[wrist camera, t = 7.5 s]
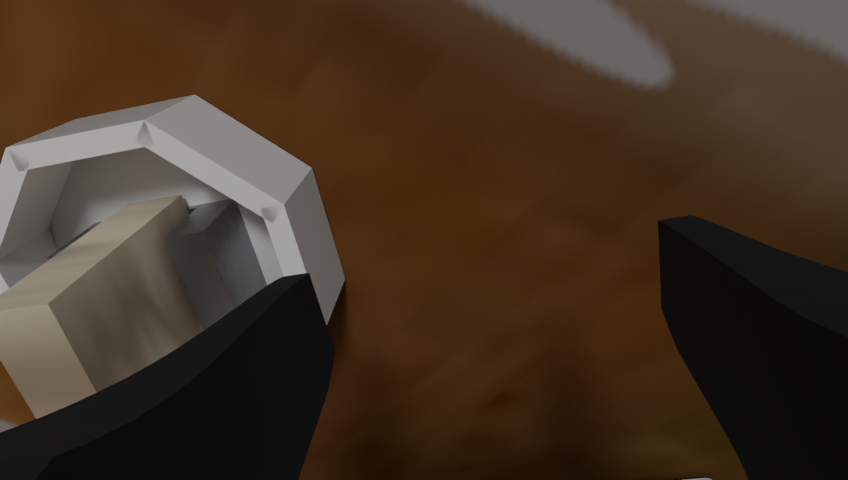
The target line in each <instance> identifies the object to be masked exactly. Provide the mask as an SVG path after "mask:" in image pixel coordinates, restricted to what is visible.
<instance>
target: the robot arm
mask: <svg viewBox="0 0 848 480" xmlns="http://www.w3.org/2000/svg"><path fill="white" fill-rule="evenodd" d="M658 232H659V257H660V281H661V305H662V311H663V314H664V316H665V319H666V322H667V324H668V327H669V330H670V332H671V335H672V337H673V340H674V342H675V344H676V347H677V349H678V351H679V353H680V355H681V357H682V358H683V360H684V362H685V364H686V365H687V367H688V369H689V371H690V372H691V374H692V376H693V378H694V379H695V381H696V383H697V385H698V386H699V388H700V390H701V392H702V393H703V395H704V397H705V398H706V400H707V402H708V404H709V405H710V407H711V409H712V410H713V412H714V414H715V416H716V417H717V419H718V421H719V423H720V424H721V426H722V428H723V429H724V431H725V433H726V435H727V436H728V438H729V440H730V442H731V444H732V446H733V448H734V449H735V451H736V453H737V455H738V457H739V459H740V461H741V463H742V466H743V468H744V470H745V472H746V475H747V477H748V479H749V480H848V272H846V271H842V270H839V269H836V268H832V267H829V266H826V265H822V264H819V263H816V262H813V261H811V260H808V259H805V258H802V257H799V256H796V255H793V254H790V253H787V252H785V251H782V250H779V249H776V248H774V247H771V246H769V245H766V244H763V243H761V242H758V241H756V240H753V239H751V238H749V237H746V236H744V235H741V234H739V233H736V232H734V231H732V230H729V229H727V228H724V227H722V226H719V225H717V224H714V223H712V222H709V221H707V220H704V219H701V218H698V217H695V216H684V217H677V218H671V219H664V220H658ZM334 351H335V350H334V347H333V344H332V341H331V338H330V335H329V332H328V329H327V326H326V323H325V320H324V317H323V313H322V310H321V307H320V304H319V301H318V298H317V295H316V292H315V289H314V286H313V283H312V280H311V277H310V274H309V273H304V274H298V275H291V276H284V277H281V278H279V279H277V280H275V281H274V282H272V283H270V284H269V285H267V286H266V287H264V288H263V289H261V290H260V291H258V292H257V293H256V294H254V295H253V296H251V297H250V298H249V299H247V300H246V301H244V302H243V303H242V304H240V305H239V306H238V307H236V308H235V309H233V310H232V311H231V312H229V313H228V314H227V315H225V316H224V317H222V318H221V319H220V320H218V321H217V322H215V323H214V324H213V325H211V326H210V327H208V328H207V329H205V330H204V331H202V332H201V333H199V334H198V335H196V336H195V337H193V338H192V339H190V340H189V341H187V342H186V343H184V344H183V345H181V346H180V347H179V348H177V349H175V350H174V351H172V352H171V353H169V354H167V355H166V356H164V357H162V358H161V359H159V360H157V361H156V362H154V363H152V364H150V365H149V366H147V367H145V368H143V369H142V370H140V371H138V372H136V373H134V374H133V375H131V376H129V377H127V378H125V379H123V380H121V381H119V382H117V383H115V384H113V385H111V386H109V387H107V388H105V389H103V390H101V391H99V392H96V393H94V394H92V395H90V396H88V397H86V398H84V399H82V400H80V401H78V402H76V403H73V404H71V405H69V406H67V407H64V408H62V409H60V410H57V411H55V412H52V413H50V414H48V415H45V416H43V417H40V418H38V419H35V420H33V421H30V422H27V423H25V424H22V425H20V426H17V427H15V428H12V429H9V430H6V431H4V432H1V433H0V480H298V478H299V475H300V472H301V469H302V467H303V464H304V461H305V458H306V455H307V452H308V449H309V446H310V443H311V440H312V437H313V434H314V431H315V428H316V425H317V422H318V419H319V416H320V413H321V410H322V407H323V404H324V401H325V398H326V395H327V391H328V387H329V382H330V377H331V371H332V365H333V358H334ZM683 480H712V479H709V478H695V479H683Z"/></svg>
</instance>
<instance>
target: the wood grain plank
mask: <svg viewBox="0 0 848 480" xmlns="http://www.w3.org/2000/svg"><path fill="white" fill-rule="evenodd" d="M188 215H189V213H188V210H187V208H186V205H185V203H184V200H183V198H182V195H177V196H171V197H165V198H159V199H154V200H148V201H142V202H136V203H131V204H127V205H125V206H124V207H122V208H121V209H120V210H118V211H117V212H115V213H114V214H113V215H111V216H110V217H108V218H107V219H106V220H104V221H103V222H101V223H100V224H99V225H97V226H96V227H94V228H93V229H92V230H90V231H89V232H87V233H86V234H85V235H83V236H82V237H80V238H79V239H78V240H76V241H75V242H73V243H72V244H71V245H69V246H68V247H66V248H65V249H64V250H62V251H61V252H59V253H58V254H57V255H55V256H54V257H52V258H51V259H50V260H48V261H47V262H45V263H44V264H43V265H41V266H40V267H38V268H37V269H36V270H34V271H33V272H31V273H30V274H29V275H27V276H26V277H24V278H23V279H22V280H20V281H19V282H17V283H16V284H15V285H13V286H12V287H10V288H9V289H8V290H6V291H5V292H3V293H2V294H1V295H0V360H1V362H2V364H3V365H4V367H5V368H6V370H7V372H8V373H9V375H10V377H11V378H12V380H13V381H14V383H15V385H16V386H17V388H18V389H19V391H20V393H21V394H22V396H23V398H24V399H25V401H26V402H27V404H28V406H29V407H30V409H31V410H32V412H33V414H34V415H35V417H36V419H38V418H40V417H43V416H45V415H48V414H50V413H52V412H55V411H57V410H60V409H62V408H64V407H67V406H69V405H71V404H73V403H76V402H78V401H80V400H82V399H84V398H86V397H88V396H90V395H92V394H94V393H96V392H99V391H101V390H103V389H105V388H107V387H109V386H111V385H113V384H115V383H117V382H119V381H121V380H123V379H125V378H127V377H129V376H131V375H133V374H134V373H136V372H138V371H140V370H142V369H143V368H145V367H147V366H149V365H150V364H152V363H154V362H156V361H157V360H159V359H161V358H162V357H164V356H166V355H167V354H169V353H171V352H172V351H174V350H175V349H177V348H179V347H180V346H181V345H183V344H184V343H186V342H187V341H189V340H190V339H192V338H193V337H195V336H196V335H198V334H199V333H201V332H202V331H204V329H203V327H202V325H201V322H200V320H199V318H198V315H197V313H196V311H195V308H194V306H193V304H192V301H191V299H190V297H189V295H188V292H187V290H186V288H185V285H184V283H183V281H182V278H181V276H180V274H179V271H178V269H177V267H176V264H175V262H174V260H173V258H172V255H171V253H170V251H169V248H168V246H167V244H166V241H165V239H164V237H165V236H166V235H168V234H169V233H170V232H171V231H172V230H173V229H174V228H175V227H176V226H177V225H179V224H180V223H181V222H182V221H183V220H184V219H185V218H186V217H187V216H188Z"/></svg>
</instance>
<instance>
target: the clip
mask: <svg viewBox="0 0 848 480" xmlns="http://www.w3.org/2000/svg"><path fill="white" fill-rule="evenodd" d="M186 208H187V210H188V213H189V215H188V216H187V217H186V218H185V219H184V220H183V221H182V222H181V223H180V224H179V225H177V226H176V227H175V228H174V229H173V230H172V231H171V232H170V233H169V234H168V235H166V236H165V237H164V239H165V241H166V244H167V246H168V248H169V251H170V253H171V255H172V258H173V260H174V262H175V264H176V267H177V269H178V271H179V274H180V276H181V278H182V281H183V283H184V285H185V288H186V290H187V292H188V295H189V297H190V299H191V301H192V304H193V306H194V308H195V311H196V313H197V315H198V318H199V320H200V322H201V325H202V327H203V329H204V330H205V329H207V328H208V327H210V326H211V325H213V324H214V323H215V322H217V321H218V320H220V319H221V318H222V317H224V316H225V315H227V314H228V313H229V312H231V311H232V310H233V309H235V308H236V307H238V306H239V305H240V304H242V303H243V302H244V301H246V300H247V299H249V298H250V297H251V296H253V295H254V294H256V293H257V292H258V291H260V290H261V289H263V288H264V287H266V286H267V284H266V281H265V278H264V275H263V273H262V270H261V267H260V264H259V262H258V259H257V256H256V253H255V251H254V248H253V245H252V242H251V240H250V237H249V234H248V231H247V229H246V226H245V223H244V221H243V218H242V215H241V212H240V210H239V207H238V204H237V202H236V201H234V200H233V199H229V200H223V201H217V202H212V203H206V204H200V205H194V206H189V207H186ZM100 223H101V222H97V223H95V224H93V225H92V226H90V227H89V228H88V229H86V230H85V231H83V232H82V233H80V234H79V235H78V236H76V237H75V238H73V239H72V240H71V241H69V242H68V243H66V244H65V245H63V246H62V247H61V248H59V249H58V250H56V251H55V252H54V253H52V254H51V255H49V256H48V257H47V259H48V260H50V259H51V258H52V257H54V256H55V255H57V254H58V253H59V252H61V251H62V250H64V249H65V248H66V247H68V246H69V245H71V244H72V243H73V242H75V241H76V240H78V239H79V238H80V237H82V236H83V235H85V234H86V233H87V232H89V231H90V230H92V229H93V228H94V227H96V226H97V225H99V224H100Z"/></svg>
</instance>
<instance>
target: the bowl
mask: <svg viewBox="0 0 848 480" xmlns="http://www.w3.org/2000/svg"><path fill="white" fill-rule="evenodd" d="M177 195H182V198H183V200H184V203H185V205H186V207H189V206H194V205H200V204H206V203H212V202H217V201H223V200H229V199H233V200H234V201H236V202H237V204H238V207H239V210H240V212H241V215H242V218H243V221H244V223H245V226H246V229H247V231H248V234H249V237H250V240H251V242H252V245H253V248H254V251H255V253H256V256H257V259H258V262H259V264H260V267H261V270H262V273H263V275H264V278H265V281H266V284H267V285H269V284H270V283H272V282H274V281H275V280H277V279H279V278H281V277H284V276H291V275H298V274H304V273H309V274H310V277H311V280H312V283H313V286H314V289H315V292H316V295H317V298H318V301H319V304H320V307H321V310H322V313H323V317H324V320H325V323H326V326H327V324H328V321H329V319H330V316H331V314H332V311H333V309H334V306H335V304H336V301H337V298H338V296H339V293H340V291H341V288H342V286H343V283H344V281H345V277H344V273H343V270H342V267H341V263H340V260H339V257H338V253H337V250H336V247H335V243H334V240H333V237H332V233H331V230H330V227H329V223H328V220H327V217H326V213H325V210H324V207H323V203H322V200H321V197H320V193H319V190H318V187H317V183H316V180H315V176H314V173H313V170H312V168H311V167H310V166H308V165H307V164H305V163H303V162H302V161H300V160H299V159H297V158H295V157H294V156H292V155H291V154H289V153H287V152H286V151H284V150H283V149H281V148H279V147H278V146H276V145H275V144H273V143H271V142H270V141H268V140H267V139H265V138H263V137H262V136H260V135H259V134H257V133H255V132H254V131H252V130H251V129H249V128H248V127H246V126H244V125H243V124H241V123H240V122H238V121H236V120H235V119H233V118H232V117H230V116H228V115H227V114H225V113H224V112H222V111H220V110H219V109H217V108H216V107H214V106H212V105H211V104H209V103H208V102H206V101H204V100H203V99H201V98H200V97H198V96H196V95H190V96H186V97H181V98H176V99H171V100H166V101H161V102H156V103H152V104H147V105H142V106H137V107H132V108H127V109H123V110H118V111H113V112H108V113H103V114H98V115H93V116H89V117H84V118H79V119H75V120H72V121H70V122H68V123H65V124H63V125H60V126H58V127H55V128H53V129H50V130H48V131H45V132H43V133H41V134H38V135H36V136H33V137H31V138H28V139H26V140H23V141H21V142H19V143H16V144H14V145H11V146H9V147H6V149H5V152H4V155H3V158H2V161H1V164H0V295H1V294H2V293H3V292H5V291H6V290H8V289H9V288H10V287H12V286H13V285H15V284H16V283H17V282H19V281H20V280H22V279H23V278H24V277H26V276H27V275H29V274H30V273H31V272H33V271H34V270H36V269H37V268H38V267H40V266H41V265H43V264H44V263H45V262H47V261H48V259H47V257H48V256H49V255H51V254H52V253H54V252H55V251H56V250H58V249H59V248H61V247H62V246H63V245H65V244H66V243H68V242H69V241H71V240H72V239H73V238H75V237H76V236H78V235H79V234H80V233H82V232H83V231H85V230H86V229H88V228H89V227H90V226H92V225H93V224H95V223H97V222H103V221H104V220H106V219H107V218H108V217H110V216H111V215H113V214H114V213H115V212H117V211H118V210H120V209H121V208H122V207H124V206H125V205H127V204H131V203H136V202H142V201H148V200H154V199H159V198H165V197H171V196H177Z"/></svg>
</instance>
